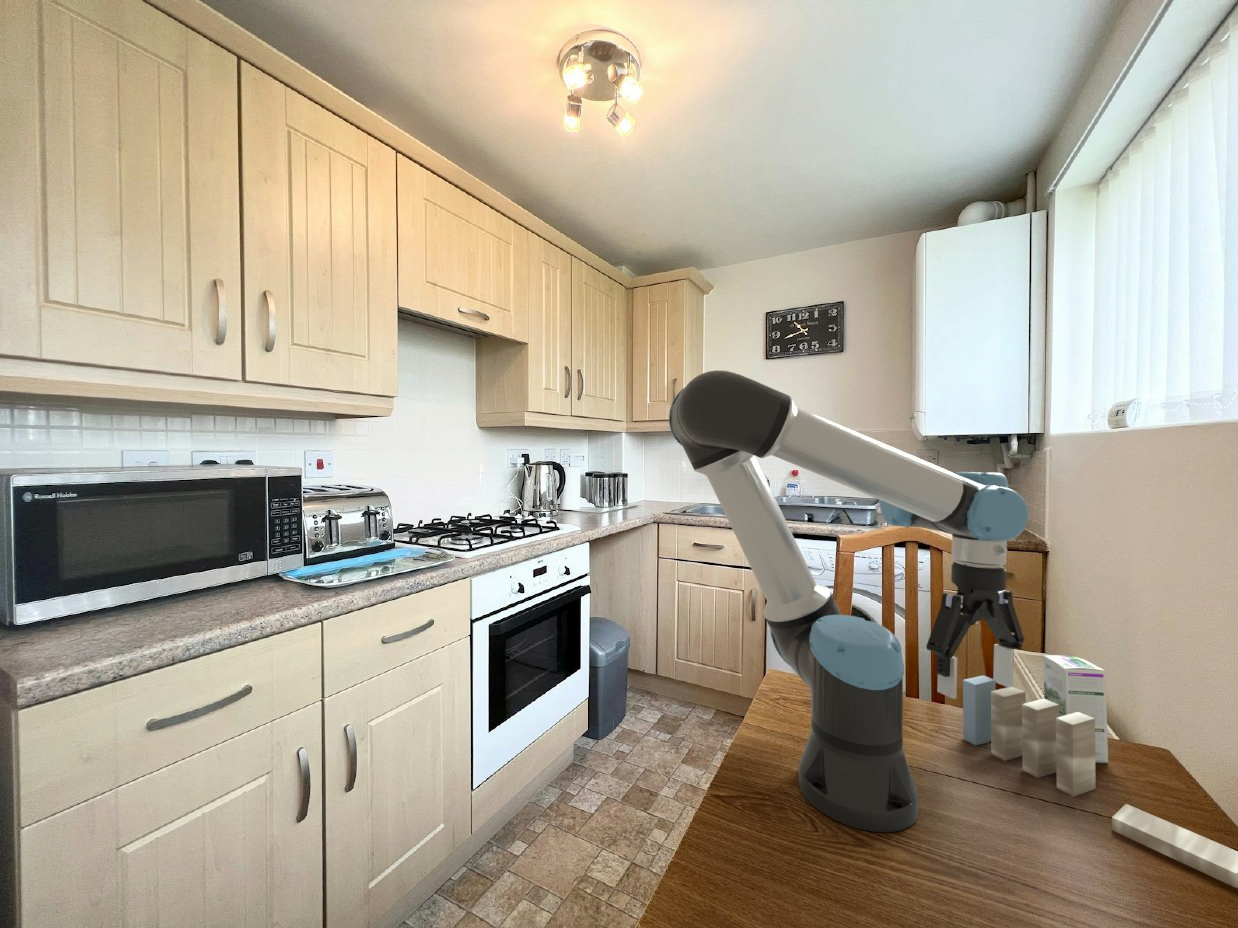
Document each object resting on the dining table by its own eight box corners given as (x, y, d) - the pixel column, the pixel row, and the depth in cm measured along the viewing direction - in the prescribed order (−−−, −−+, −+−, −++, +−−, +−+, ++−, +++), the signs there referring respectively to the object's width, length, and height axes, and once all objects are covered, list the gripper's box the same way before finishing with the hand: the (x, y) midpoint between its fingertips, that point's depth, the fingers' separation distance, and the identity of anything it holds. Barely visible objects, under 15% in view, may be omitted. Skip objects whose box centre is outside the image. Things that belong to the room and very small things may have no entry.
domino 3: (1022, 769, 75) (1022, 703, 75) (1044, 763, 77) (1043, 698, 77) (1037, 777, 73) (1037, 710, 73) (1059, 770, 75) (1058, 704, 75)
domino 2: (991, 753, 79) (990, 691, 79) (1012, 747, 81) (1011, 686, 81) (1004, 760, 77) (1004, 696, 77) (1026, 754, 79) (1025, 691, 79)
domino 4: (1056, 787, 71) (1056, 717, 71) (1078, 779, 73) (1077, 711, 73) (1073, 796, 69) (1072, 724, 69) (1095, 788, 71) (1094, 718, 71)
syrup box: (1110, 764, 76) (1109, 669, 76) (1065, 759, 77) (1064, 667, 78) (1083, 743, 82) (1082, 655, 82) (1042, 740, 83) (1041, 653, 83)
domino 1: (963, 739, 83) (962, 679, 84) (983, 733, 85) (983, 675, 85) (975, 745, 82) (975, 684, 82) (995, 739, 83) (995, 679, 83)
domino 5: (1111, 817, 63) (1236, 873, 54) (1126, 803, 65) (1247, 855, 57) (1112, 832, 63) (1236, 891, 54) (1126, 818, 65) (1247, 872, 57)
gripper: (946, 571, 76) (943, 710, 76) (1051, 564, 84) (1049, 689, 84) (903, 562, 83) (900, 689, 83) (1004, 556, 91) (1002, 671, 91)
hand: (975, 689), depth 83 cm, fingers open, 13 cm apart
